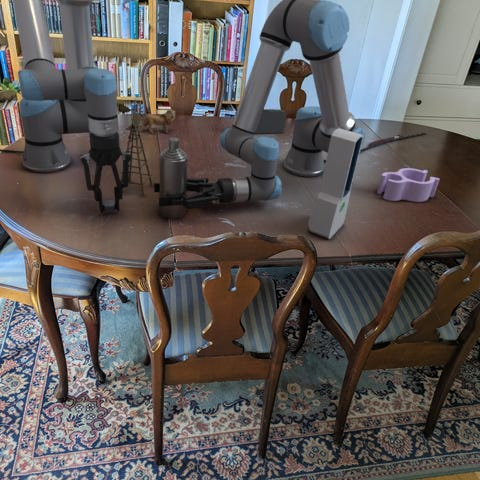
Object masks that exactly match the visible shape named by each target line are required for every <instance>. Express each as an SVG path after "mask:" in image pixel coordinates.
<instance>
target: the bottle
mask: <svg viewBox="0 0 480 480" xmlns="http://www.w3.org/2000/svg"><path fill="white" fill-rule="evenodd" d="M168 138H169V139H168V146H167V147H166V148H165V149H163V150H162V151H161V152H160V154H159V183H160V192H159V197H163V196H180V195H182V199H183V195H185V196H188V194H187V192H188V191H187V178H188V163H189V161H188V160H189V159H188V158H189V155H188V154H187V152H186V151H184V150H183V149H182V148H180V147H179V146H180V138H178V137H175V136H172V137H168ZM159 214H160V216H162V217H164V218H165V219H180V218H182V217H185V215H186V214H187V209H186V206H183V205H174V206H159Z"/></svg>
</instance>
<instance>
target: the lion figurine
mask: <svg viewBox="0 0 480 480" xmlns="http://www.w3.org/2000/svg"><path fill="white" fill-rule="evenodd" d="M175 119H176V110H174V109H168V110H166V112H165V113H163V114H161V115H160V116H159V115H158V116H157V115H153V114H149V115H147V116H145V118H144V120H143V123H142V124H143V125H142V126H143V127H145V128H144V129H143V130H144V131H147V130H149V132H150V133H151V134H154V130H153V129H152V127H153V124H154V125H155V126H162V130H163V131H164V133H165V134H169V131H168V127H169V126H171V125H172V124H173V122H174V121H175ZM147 126H148V128H147Z"/></svg>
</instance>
